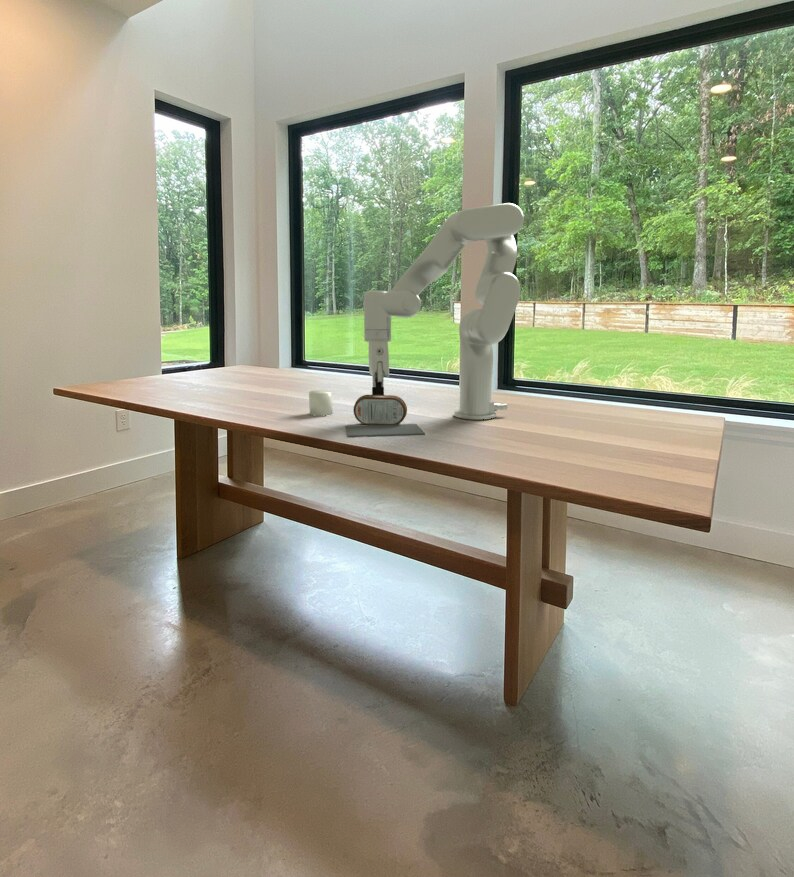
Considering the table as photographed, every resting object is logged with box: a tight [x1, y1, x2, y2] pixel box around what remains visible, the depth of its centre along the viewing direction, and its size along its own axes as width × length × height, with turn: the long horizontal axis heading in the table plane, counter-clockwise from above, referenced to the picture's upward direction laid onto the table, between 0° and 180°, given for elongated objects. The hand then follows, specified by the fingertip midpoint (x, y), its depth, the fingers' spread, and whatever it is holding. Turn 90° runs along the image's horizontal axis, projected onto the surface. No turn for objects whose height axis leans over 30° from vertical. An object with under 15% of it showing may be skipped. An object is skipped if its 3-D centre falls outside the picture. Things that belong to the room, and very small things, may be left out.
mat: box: [344, 423, 426, 438], centre depth 158 cm, size 20×12×1 cm, turn 99°
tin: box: [353, 394, 408, 425], centre depth 166 cm, size 15×3×8 cm, turn 84°
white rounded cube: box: [308, 389, 334, 417], centre depth 181 cm, size 7×7×7 cm
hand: (378, 400), depth 169 cm, fingers closed
